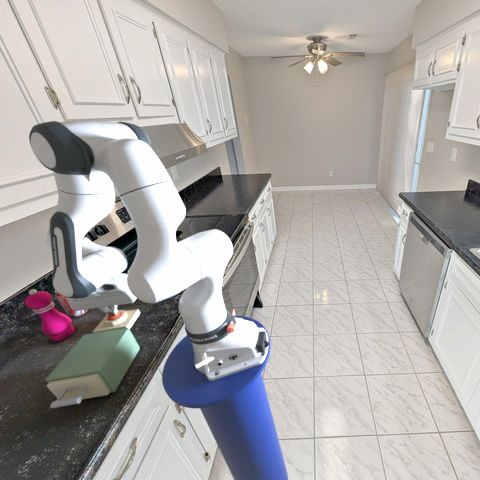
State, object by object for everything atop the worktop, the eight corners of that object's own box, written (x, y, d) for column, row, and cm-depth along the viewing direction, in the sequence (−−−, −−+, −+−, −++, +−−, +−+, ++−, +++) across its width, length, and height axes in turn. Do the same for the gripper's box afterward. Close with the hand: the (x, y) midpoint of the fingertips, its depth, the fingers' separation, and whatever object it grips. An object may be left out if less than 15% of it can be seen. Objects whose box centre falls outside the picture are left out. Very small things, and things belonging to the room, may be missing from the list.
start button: (123, 313, 94) (121, 309, 93) (117, 320, 91) (115, 316, 90) (112, 314, 93) (110, 311, 93) (107, 321, 90) (104, 318, 89)
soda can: (89, 313, 100) (74, 289, 94) (66, 321, 97) (49, 296, 91) (93, 303, 105) (79, 280, 100) (71, 310, 102) (55, 286, 97)
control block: (140, 313, 98) (136, 305, 96) (128, 331, 90) (124, 322, 88) (110, 317, 97) (105, 309, 95) (95, 336, 89) (90, 327, 87)
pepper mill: (50, 335, 91) (15, 290, 82) (76, 323, 95) (46, 280, 86) (50, 346, 86) (14, 300, 77) (77, 333, 91) (46, 289, 81)
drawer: (98, 411, 64) (84, 394, 61) (48, 420, 63) (31, 403, 60) (133, 352, 80) (123, 336, 77) (94, 359, 79) (82, 342, 76)
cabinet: (114, 392, 70) (99, 370, 66) (64, 401, 68) (45, 379, 64) (140, 348, 83) (128, 327, 79) (98, 355, 82) (84, 334, 77)
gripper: (53, 293, 81) (75, 325, 87) (122, 284, 83) (138, 315, 89) (68, 281, 86) (87, 312, 93) (131, 273, 89) (146, 303, 95)
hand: (113, 314), depth 91 cm, fingers closed, pressing on start button
